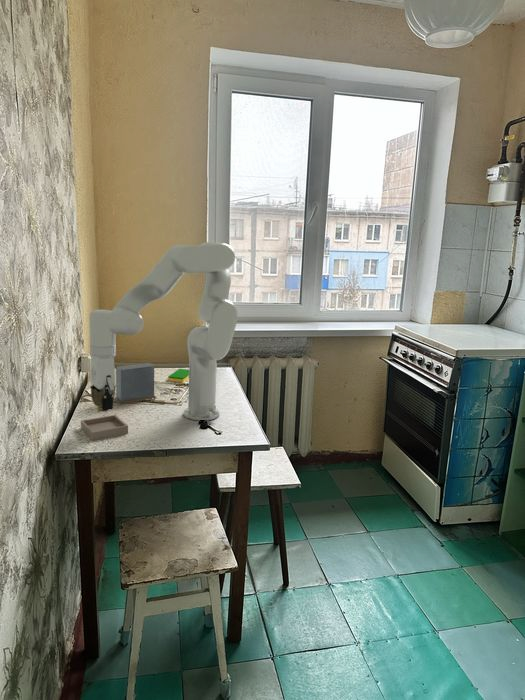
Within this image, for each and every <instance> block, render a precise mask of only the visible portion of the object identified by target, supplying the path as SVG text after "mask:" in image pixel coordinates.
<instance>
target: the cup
mask: <svg viewBox="0 0 525 700" xmlns="http://www.w3.org/2000/svg"><path fill="white" fill-rule="evenodd" d="M106 387H108V386H104V388H106ZM107 391H108V389H107V390H105V392H107ZM90 394H91V400H92V402H93V404H94V405H95V406H96V409H97V411H99V412H108V411H109V410H102V398H103V390H102V389H101V390H99V389H98V388H96V387H95V386H94V385H93V384H91V385H90ZM115 397H116V385H115V386H114V391H113V402H114V401H115Z"/></svg>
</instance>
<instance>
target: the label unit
mask: <svg viewBox="0 0 525 700" xmlns="http://www.w3.org/2000/svg"><path fill="white" fill-rule="evenodd" d="M152 398H156V399H157V396H156V395H155V365H153V364H152V363H150V362H146V363H138V364H136V363H135V364H129V365H127V364H126V365H119V366H115V396H114V400H115V399H116V401H115V402H116V403H117V404H119V405H126V404H133V403H138V402H140V403H141V402H144V401H143V400H146V399H152ZM152 400H153V399H152ZM146 401H147V400H146Z"/></svg>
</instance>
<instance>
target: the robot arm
mask: <svg viewBox="0 0 525 700" xmlns="http://www.w3.org/2000/svg"><path fill="white" fill-rule="evenodd" d="M235 261H236V254H235V251H234V249H233V247H232V246H231V245H229V244H227V243H225V242H223V243H222V242H213V241H206V242H203V243H200V245H188V244H187V245H185V244H176V245H173V246H171V247H169V249H168V250H167V251H166V252H165V253H164V255H163V256H162V257H161V258H160V260H159V261H157V263H156V264H155V266H154V267H152V269H151V270H150V271H149V273H148V274H147V275H146V276H145V277H144V278H143V279H141V280H140V281H139V282H138V283H137V284H135V285H134V286H133V287H131V288H130V289H129V290H128V291H127V292H126V293H125V294H123V296H122V298H121V299H120V300H119V301H118V302H117V303H116V305H115V306H113V308H112V310H110V309H94V310H92V311H90V313H89V318H88V319H89V356H90V365H89V383H91V385H94V386H95V387H96V388H98V389H99V390H101V389H102V390H103V398H102V410H108V411H109V410H113V409H114V401H113V391H114V386H115V387H116V366H115V356H117V353H116V352H117V345H116V343H117V342H116V339H117V338H116V337H117V336H116V335H126V336H128V335H129V336H131V335H136V334H138V333H140V332H141V331H142V330H143V327H144V325H145V323H144V319H143V318H144V317H142V315H141V314H140V312H141V311H142V310H143V309H144V308H145V307H147V305H149V304H151V303H152V302H153V301H156V300H160V299H162V298H164V297H165V296H167V295H168V294H169V293H170V292H171V291H172V290H173V289H174V287H175V286H176V285H177V283H178V282H179V281H180V280H181V278H182V277H183V276H184V275H185V274H191V275H193V274H203V273H204V274H205V282H204V289H203V293H202V296H201V300H200V303H199V307H198V317H199V318H200V320H201V321H203V322H204V323H205V324H208V327H207V326H201V325H200V326H196V327H194V328H193V329H191V331H190V332H189V333H188V336H187V342H186V343H187V345H186V346H187V352H188V363H189V364H188V370H189V379H188V395H187V397H188V398H187V399H188V401H187V402H188V405H187V408H185V409H184V410H183V416H184V417H185V418H186V419H189V420H193V421H200V420H205V421H212V420H215V419H217V418H218V417H220V410H219V409H218V408H217V406H216V397H217V396H216V395H217V394H216V393H217V368H218V367H217V361H219V360H222V359H223V358H225V356H226V355H227V354H229V353H228V352H229V350H230V348H231V345H232V341H233V338H234V334H235V330H236V326H237V323H238V318H239V317H238V316H239V315H238V309H237V307H236V305H235V303H233V302H232V301H231V300H229V294H230V290H231V283H232V279H231V278H232V277H231V272H230V268H231V267H233V264H234V263H235ZM104 386H108V387H106V388H104ZM107 389H108V391H107V392H105V390H107Z"/></svg>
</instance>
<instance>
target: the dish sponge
mask: <svg viewBox="0 0 525 700" xmlns="http://www.w3.org/2000/svg"><path fill="white" fill-rule="evenodd" d="M188 378H189V369H185V368H178V369H177V370H175V371H174V372H173V373H171V374H169V375H168V376H167V380H168V382H174V381H175V383H185V382H186V381H187V380H189V379H188ZM184 381H185V382H184Z"/></svg>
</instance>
